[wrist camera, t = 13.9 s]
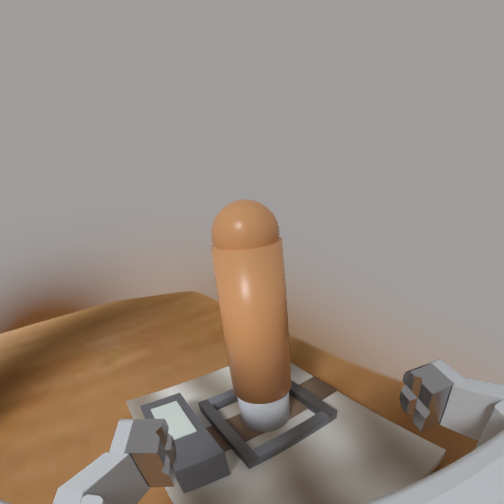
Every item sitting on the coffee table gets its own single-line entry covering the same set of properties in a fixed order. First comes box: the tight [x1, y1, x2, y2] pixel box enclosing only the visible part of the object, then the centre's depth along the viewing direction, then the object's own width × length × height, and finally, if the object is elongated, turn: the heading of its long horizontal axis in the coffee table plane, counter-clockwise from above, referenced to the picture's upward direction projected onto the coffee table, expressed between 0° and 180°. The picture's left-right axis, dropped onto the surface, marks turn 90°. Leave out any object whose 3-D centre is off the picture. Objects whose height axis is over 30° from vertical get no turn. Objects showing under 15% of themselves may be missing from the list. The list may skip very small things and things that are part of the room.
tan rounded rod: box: [211, 200, 291, 432], centre depth 19 cm, size 4×4×15 cm
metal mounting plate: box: [126, 362, 446, 504], centre depth 18 cm, size 15×20×2 cm
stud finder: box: [140, 393, 230, 493], centre depth 17 cm, size 3×7×2 cm, turn 32°
